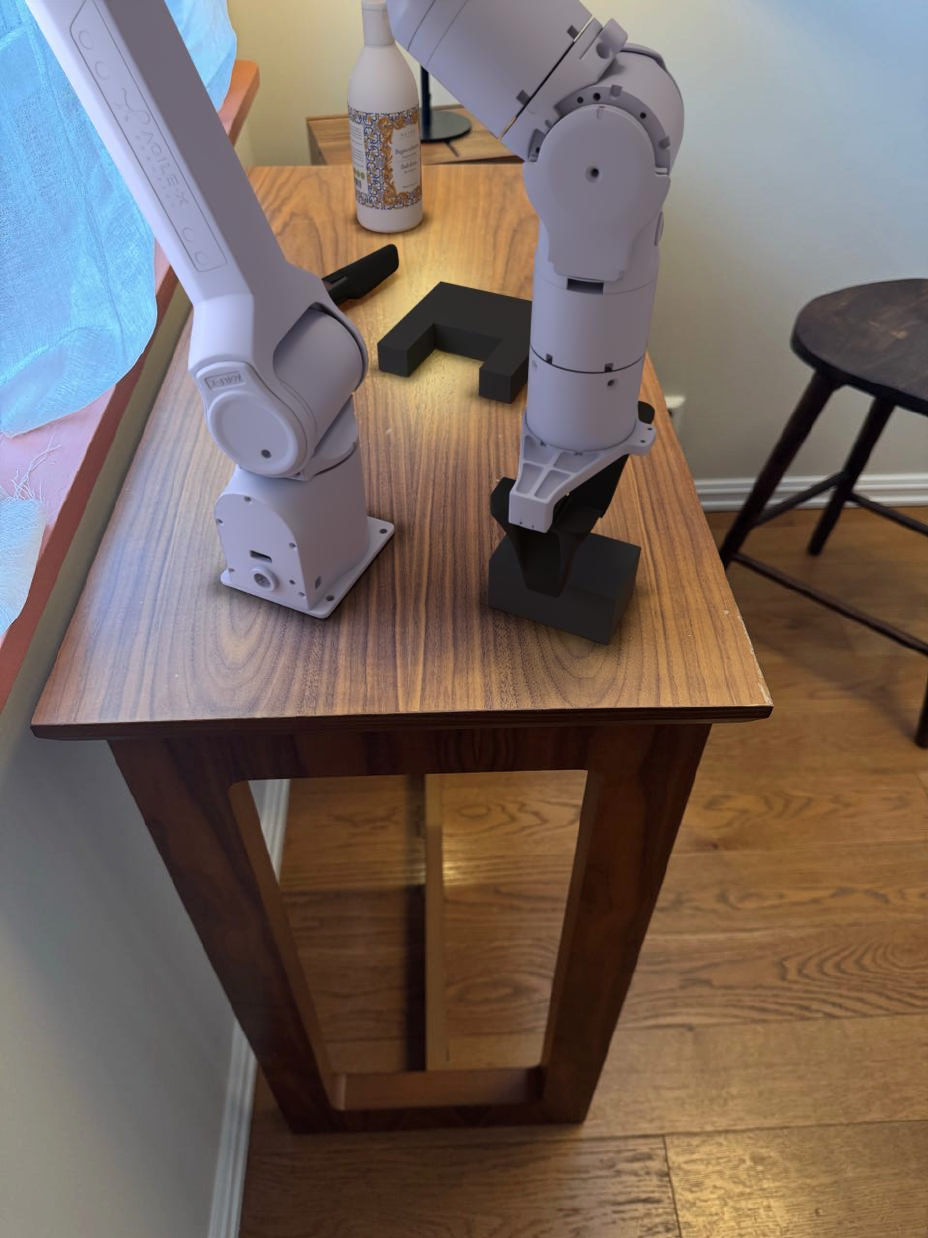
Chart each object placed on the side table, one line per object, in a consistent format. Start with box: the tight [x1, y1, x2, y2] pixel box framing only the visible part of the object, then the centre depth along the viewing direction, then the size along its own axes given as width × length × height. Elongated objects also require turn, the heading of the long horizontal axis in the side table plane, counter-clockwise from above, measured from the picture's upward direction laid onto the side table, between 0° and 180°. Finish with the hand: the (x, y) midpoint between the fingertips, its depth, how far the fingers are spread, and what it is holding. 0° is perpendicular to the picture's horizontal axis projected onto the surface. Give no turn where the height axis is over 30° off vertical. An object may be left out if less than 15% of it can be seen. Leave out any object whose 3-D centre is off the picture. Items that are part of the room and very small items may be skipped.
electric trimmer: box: [320, 243, 400, 308], centre depth 83 cm, size 4×16×3 cm, turn 142°
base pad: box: [376, 280, 532, 404], centre depth 78 cm, size 12×12×2 cm
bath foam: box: [346, 0, 424, 234], centre depth 90 cm, size 7×7×20 cm
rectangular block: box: [487, 531, 642, 646], centre depth 56 cm, size 8×5×4 cm, turn 65°
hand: (567, 548), depth 55 cm, fingers open, 7 cm apart
